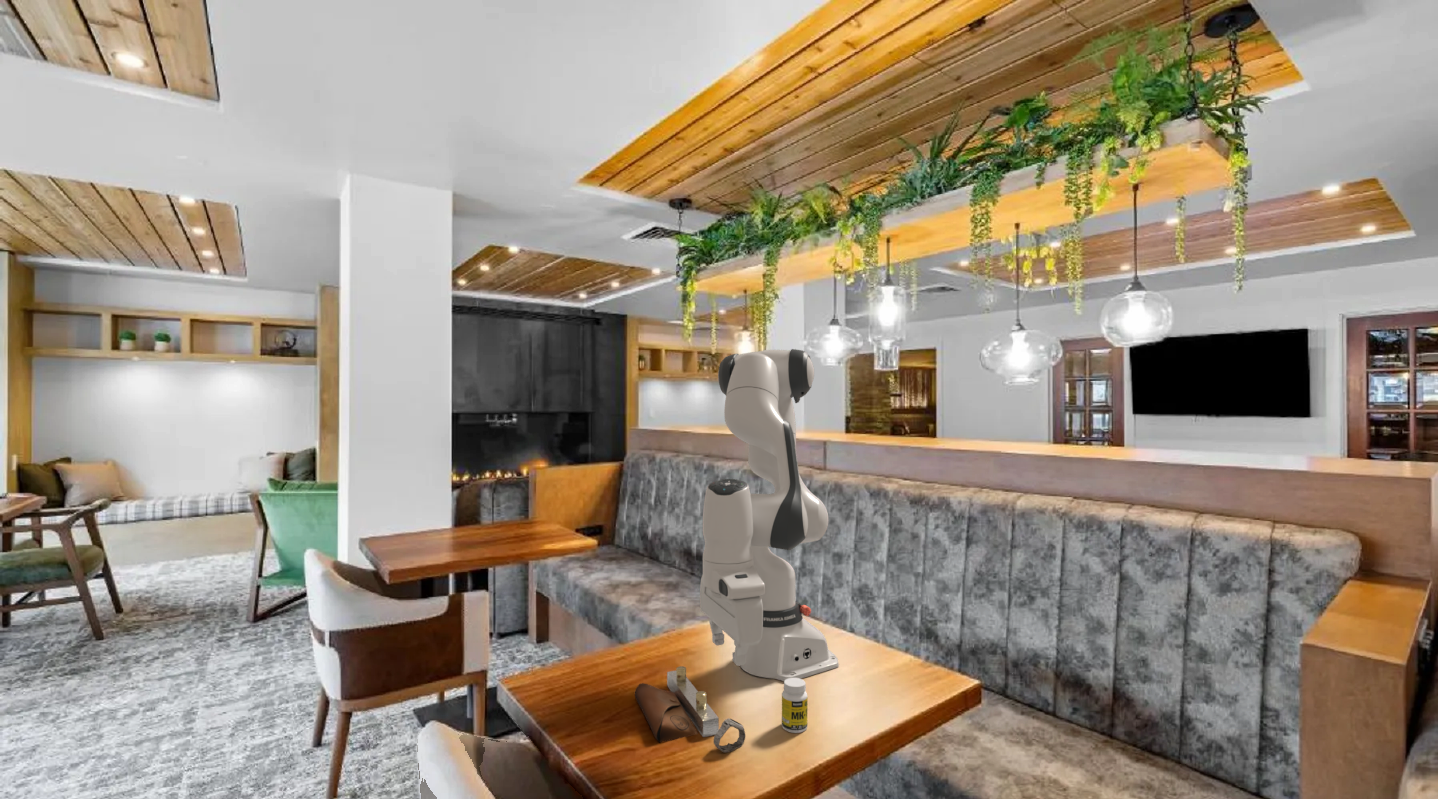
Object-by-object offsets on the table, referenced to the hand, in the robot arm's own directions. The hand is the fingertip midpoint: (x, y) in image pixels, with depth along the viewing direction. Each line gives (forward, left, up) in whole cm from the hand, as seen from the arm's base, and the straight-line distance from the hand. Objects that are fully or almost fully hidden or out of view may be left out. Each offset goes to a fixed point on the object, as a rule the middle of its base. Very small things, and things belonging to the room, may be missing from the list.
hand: (728, 653), depth 113 cm
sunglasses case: (+7, -15, -17) cm, 24 cm away
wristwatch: (0, 0, -17) cm, 17 cm away
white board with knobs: (+1, -16, -17) cm, 23 cm away
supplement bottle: (-14, -2, -17) cm, 22 cm away
